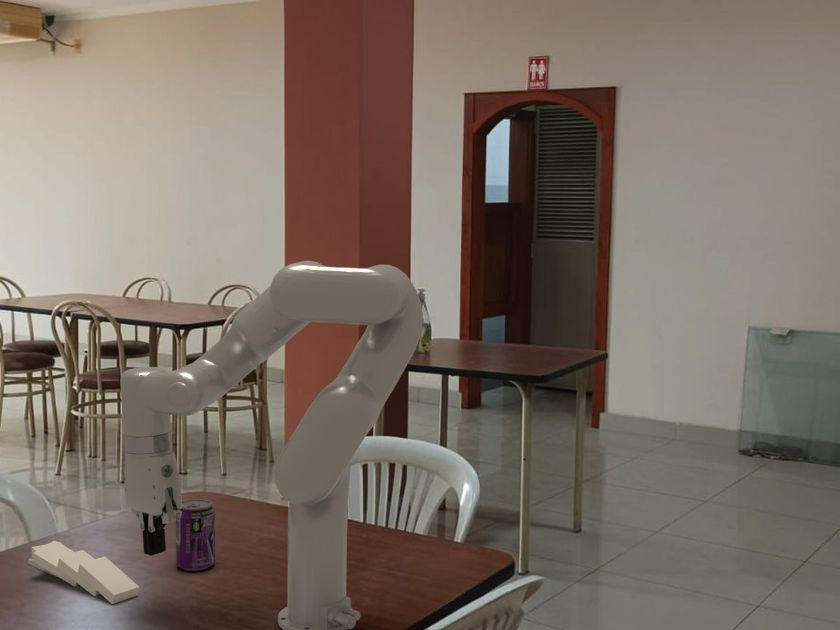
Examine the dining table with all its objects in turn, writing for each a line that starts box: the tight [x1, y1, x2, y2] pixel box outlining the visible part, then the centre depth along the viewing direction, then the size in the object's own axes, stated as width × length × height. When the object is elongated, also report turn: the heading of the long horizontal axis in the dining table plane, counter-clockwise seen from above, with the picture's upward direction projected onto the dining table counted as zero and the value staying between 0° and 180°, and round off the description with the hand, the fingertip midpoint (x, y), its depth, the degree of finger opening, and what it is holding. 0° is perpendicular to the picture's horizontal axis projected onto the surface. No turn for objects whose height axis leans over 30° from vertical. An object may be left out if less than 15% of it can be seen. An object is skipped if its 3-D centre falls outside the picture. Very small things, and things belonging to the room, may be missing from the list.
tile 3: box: [32, 540, 79, 587], centre depth 184 cm, size 2×5×10 cm
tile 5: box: [27, 557, 59, 578], centre depth 190 cm, size 2×5×10 cm
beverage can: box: [175, 498, 216, 572], centre depth 191 cm, size 7×7×12 cm
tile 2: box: [57, 549, 101, 597], centre depth 180 cm, size 2×5×10 cm
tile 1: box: [78, 555, 140, 605], centre depth 177 cm, size 2×5×10 cm
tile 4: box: [31, 541, 67, 558], centre depth 190 cm, size 2×5×10 cm
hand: (154, 552), depth 169 cm, fingers closed
